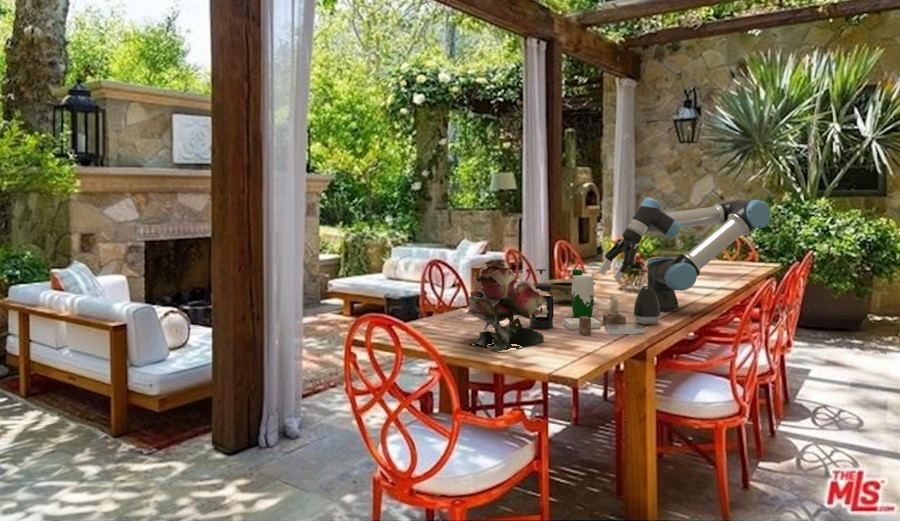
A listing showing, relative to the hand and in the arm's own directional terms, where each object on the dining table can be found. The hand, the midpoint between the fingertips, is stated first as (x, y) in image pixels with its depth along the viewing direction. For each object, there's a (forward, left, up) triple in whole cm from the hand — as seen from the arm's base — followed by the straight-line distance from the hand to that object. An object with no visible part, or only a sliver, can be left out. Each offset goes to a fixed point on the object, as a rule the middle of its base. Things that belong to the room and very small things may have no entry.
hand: (608, 276), depth 286 cm
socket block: (+3, +17, -17) cm, 25 cm away
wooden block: (+18, +29, -17) cm, 39 cm away
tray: (+16, +17, -17) cm, 29 cm away
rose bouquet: (+51, +37, -18) cm, 66 cm away
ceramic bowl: (+6, -40, -18) cm, 44 cm away
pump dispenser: (-11, +15, -18) cm, 26 cm away
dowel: (+3, +17, -17) cm, 25 cm away
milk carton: (+10, -3, -18) cm, 21 cm away
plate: (+3, +29, -18) cm, 34 cm away
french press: (+31, +14, -18) cm, 39 cm away
